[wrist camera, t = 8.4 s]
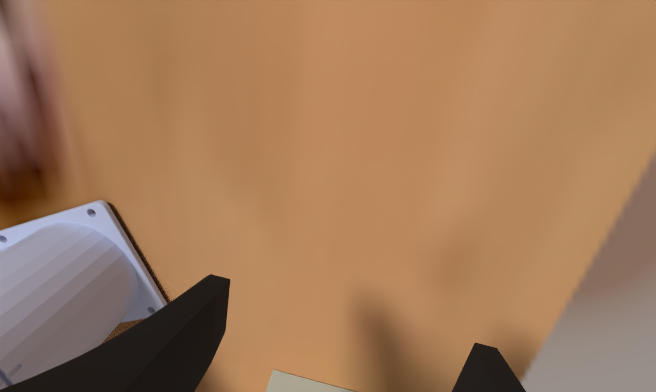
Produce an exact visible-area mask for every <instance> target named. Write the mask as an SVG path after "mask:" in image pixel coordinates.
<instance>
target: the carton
mask: <svg viewBox="0 0 656 392" xmlns="http://www.w3.org/2000/svg"><path fill="white" fill-rule="evenodd" d="M266 392H354V391H350V390H346V389H343V388H339V387H335V386H332V385H328V384H324V383H321V382H317V381H313V380H310V379H306V378H302V377H299V376H295V375H291V374H288V373H284V372H280V371H277V370H273V373H272V375H271V378H270V381H269V384H268V387H267V390H266Z"/></svg>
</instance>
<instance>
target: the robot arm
mask: <svg viewBox="0 0 656 392" xmlns="http://www.w3.org/2000/svg"><path fill="white" fill-rule="evenodd" d="M92 210H94V211H95V213H94V212H93V211H92ZM229 287H230V279H227V278H223V277H219V276H215V275H212V274H210V275H208V276H207V277H205V278H204V279H202V280H201V281H200V282H198V283H197V284H195V285H194V286H193V287H191V288H190V289H189V290H187V291H186V292H184V293H183V294H181V295H180V296H179V297H177V298H176V299H174V300H173V301H171V302H170V303H168V304H167V303H166V301H165V299H164V298H163V296H162V294H161V292H160V291H159V289H158V287H157V286H156V284H155V282H154V281H153V279H152V277H151V276H150V274H149V272H148V270H147V269H146V267H145V265H144V264H143V262H142V260H141V259H140V257H139V255H138V254H137V252H136V250H135V249H134V247H133V245H132V243H131V242H130V240H129V238H128V237H127V235H126V233H125V232H124V230H123V228H122V227H121V225H120V223H119V222H118V220H117V218H116V216H115V215H114V213H113V211H112V210H111V208H110V206H109V205H108V204H107V203H106V202H104V201H102V200H98V201H94V202H91V203H88V204H85V205H81V206H78V207H75V208H72V209H68V210H65V211H62V212H59V213H55V214H52V215H49V216H45V217H42V218H39V219H36V220H32V221H29V222H26V223H23V224H19V225H16V226H13V227H10V228H6V229H3V230H0V392H194V391H195V389H196V388H197V386H198V384H199V383H200V381H201V379H202V378H203V376H204V374H205V372H206V371H207V369H208V367H209V366H210V364H211V362H212V360H213V358H214V355H215V353H216V351H217V349H218V347H219V344H220V342H221V340H222V338H223V335H224V333H225V330H226V319H227V309H228V298H229ZM153 308H154V309H153ZM144 318H146V319H144ZM139 319H144V320H143V321H141V322H139V323H138V324H136V325H134V326H133V327H131V328H129V329H128V330H126V331H124V332H123V333H121V334H119V335H118V336H116V337H114V338H112V339H111V340H109V341H107V342H105V343H103V344H101V343H102V342H103V341H104V340H105V339H106V338H107V337H108V336H109V335H110V334H111V332H112V331H113V330H114V329H115V328H116V327H117V326H118V325H119V324H120V323H124V322H129V321H134V320H139ZM452 392H526V391H525V389H524V388H523V386H522V385H521V383H520V382H519V380H518V379H517V378H516V376H515V374H514V373H513V371H512V370H511V368H510V367H509V365H508V364H507V362H506V361H505V359H504V358H503V356H502V355H501V354H500V352H499V351H498V349H497V348H494V347H490V346H486V345H482V344H478V343H475V344H474V346H473V348H472V350H471V352H470V354H469V356H468V358H467V361H466V363H465V365H464V367H463V369H462V371H461V373H460V375H459V378H458V380H457V382H456V384H455V386H454V388H453V390H452Z"/></svg>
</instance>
